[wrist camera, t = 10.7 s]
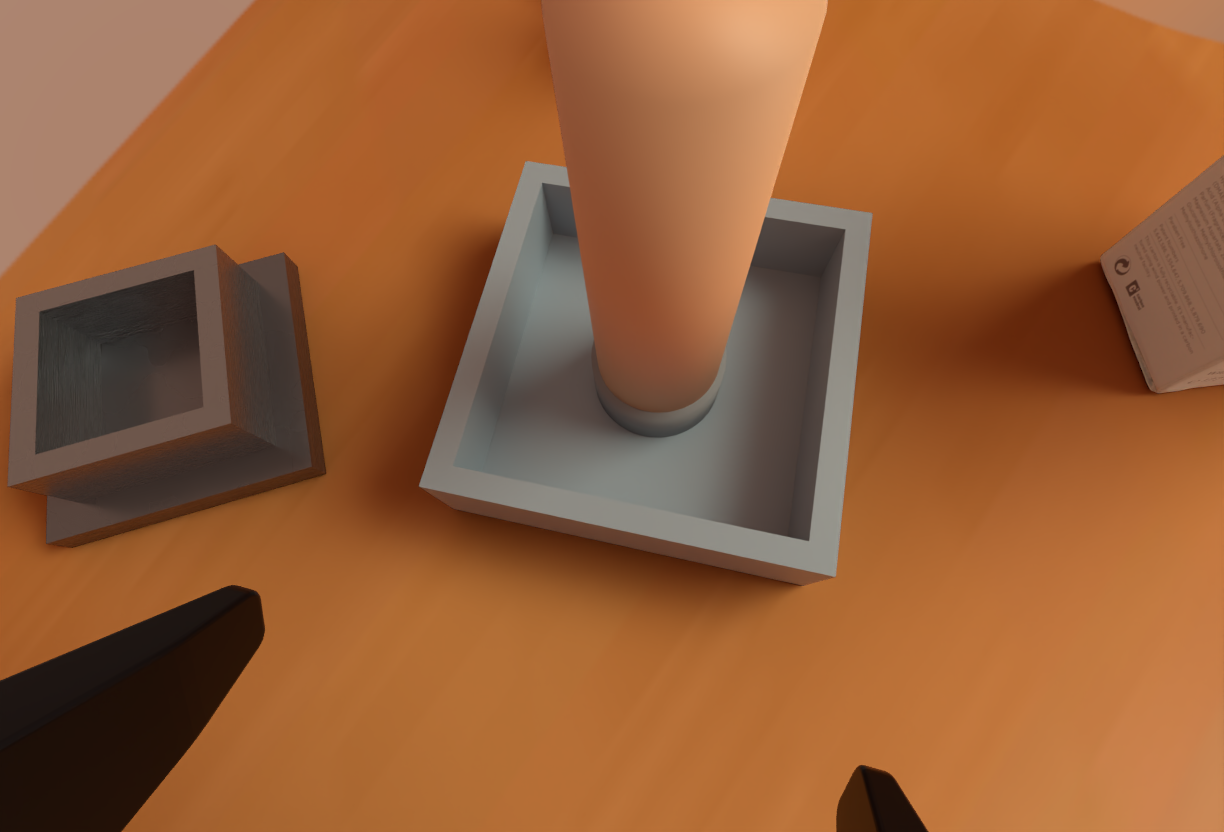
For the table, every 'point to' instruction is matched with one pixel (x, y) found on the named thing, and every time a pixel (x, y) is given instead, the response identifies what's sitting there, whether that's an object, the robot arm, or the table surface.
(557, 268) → the bin
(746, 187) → the tan rounded tapered piece
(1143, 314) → the skincare box
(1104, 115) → the table surface
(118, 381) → the stud base
